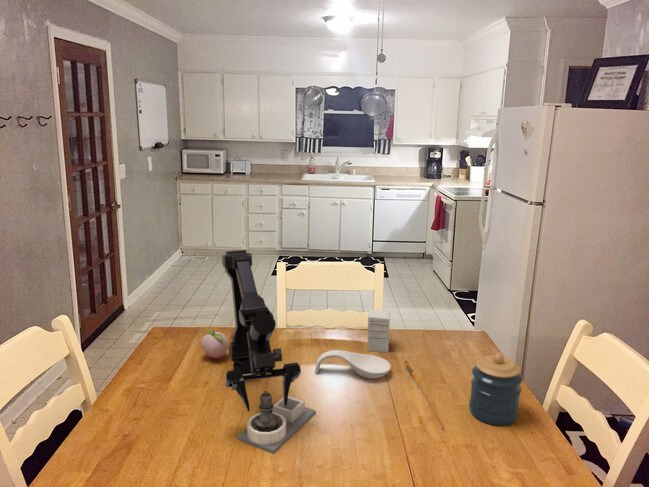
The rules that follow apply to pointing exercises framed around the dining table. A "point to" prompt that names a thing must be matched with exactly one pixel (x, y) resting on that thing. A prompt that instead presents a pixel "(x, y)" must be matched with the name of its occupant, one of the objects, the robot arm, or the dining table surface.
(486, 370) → the canister
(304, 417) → the socket board
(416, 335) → the dining table surface
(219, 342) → the decorative fruit
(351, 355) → the spoon rest
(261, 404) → the dark grey tiered column
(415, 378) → the katana
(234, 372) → the robot arm
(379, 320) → the supplement box
